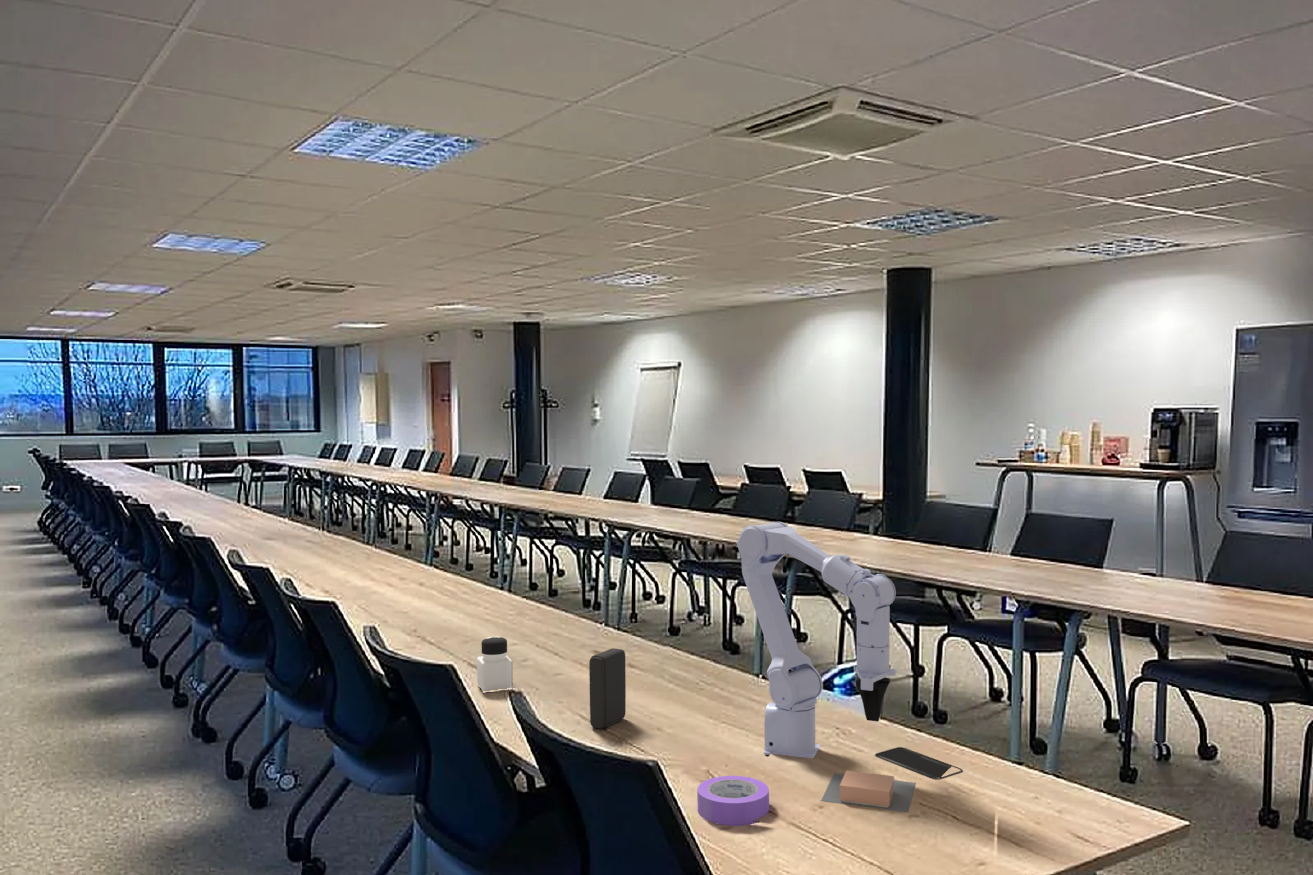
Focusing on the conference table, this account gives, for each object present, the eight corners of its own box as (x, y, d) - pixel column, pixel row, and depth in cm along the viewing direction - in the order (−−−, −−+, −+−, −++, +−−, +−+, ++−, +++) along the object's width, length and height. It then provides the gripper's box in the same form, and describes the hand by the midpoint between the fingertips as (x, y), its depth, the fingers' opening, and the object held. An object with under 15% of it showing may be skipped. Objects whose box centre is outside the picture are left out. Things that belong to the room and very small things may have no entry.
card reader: (612, 715, 203) (611, 646, 203) (627, 718, 201) (627, 648, 201) (587, 727, 195) (587, 655, 195) (603, 730, 193) (603, 658, 193)
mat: (820, 804, 155) (820, 800, 155) (834, 776, 167) (834, 772, 167) (908, 816, 150) (908, 812, 150) (915, 786, 162) (915, 782, 162)
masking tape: (682, 812, 153) (682, 788, 153) (729, 791, 161) (729, 769, 161) (737, 834, 145) (737, 809, 145) (784, 811, 153) (783, 788, 153)
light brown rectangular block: (846, 786, 161) (839, 801, 155) (846, 770, 161) (839, 785, 155) (894, 792, 158) (889, 808, 152) (894, 776, 158) (889, 791, 152)
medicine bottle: (512, 690, 223) (512, 640, 222) (482, 694, 220) (482, 643, 220) (506, 682, 229) (505, 633, 229) (477, 686, 227) (476, 636, 226)
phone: (936, 779, 164) (872, 754, 176) (936, 786, 164) (872, 760, 176) (966, 770, 168) (901, 746, 180) (965, 776, 168) (901, 751, 180)
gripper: (890, 655, 159) (890, 735, 160) (901, 637, 173) (901, 710, 173) (848, 652, 162) (848, 730, 162) (862, 633, 175) (862, 706, 176)
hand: (872, 719), depth 168 cm, fingers closed
